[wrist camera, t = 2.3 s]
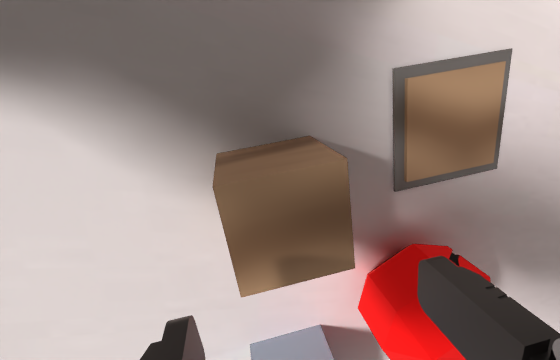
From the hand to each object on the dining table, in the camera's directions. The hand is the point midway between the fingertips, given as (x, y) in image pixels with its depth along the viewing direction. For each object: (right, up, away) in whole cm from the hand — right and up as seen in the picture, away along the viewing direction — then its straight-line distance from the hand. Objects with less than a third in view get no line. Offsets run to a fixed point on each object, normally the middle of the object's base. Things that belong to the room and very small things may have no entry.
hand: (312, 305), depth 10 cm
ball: (+9, -3, +14) cm, 17 cm away
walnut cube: (-2, +4, +9) cm, 10 cm away
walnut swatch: (+11, +8, +10) cm, 17 cm away
